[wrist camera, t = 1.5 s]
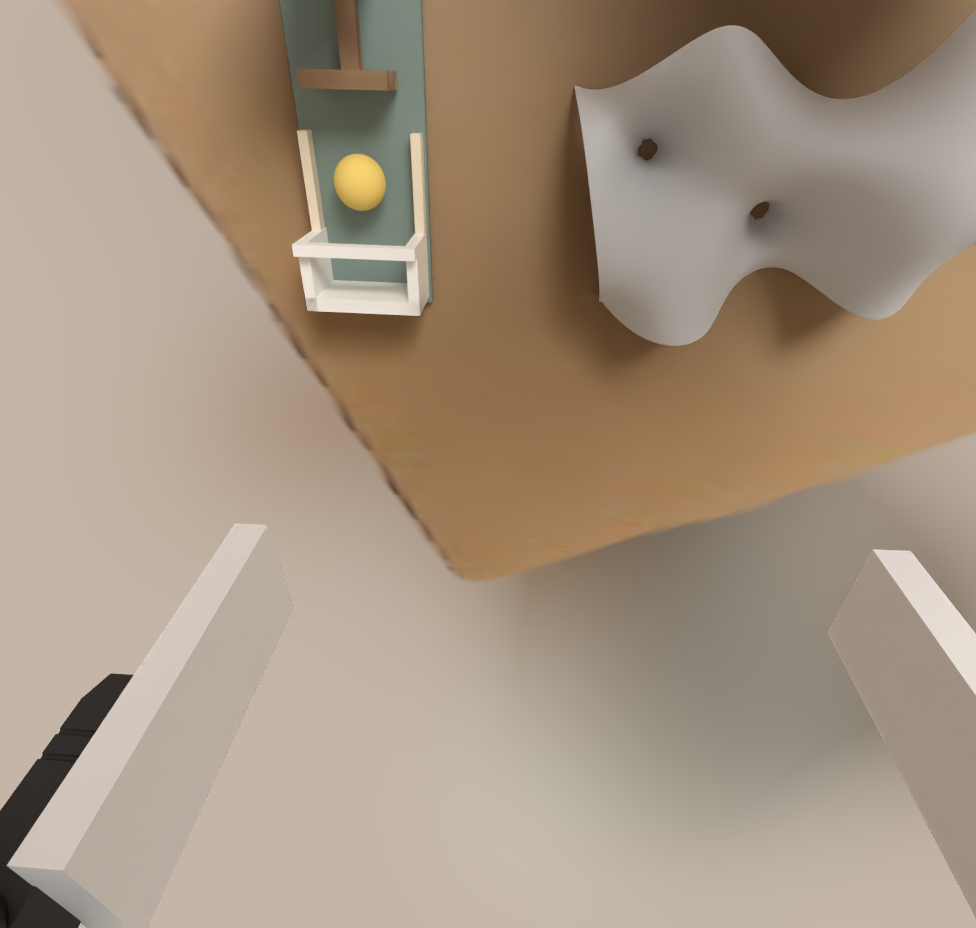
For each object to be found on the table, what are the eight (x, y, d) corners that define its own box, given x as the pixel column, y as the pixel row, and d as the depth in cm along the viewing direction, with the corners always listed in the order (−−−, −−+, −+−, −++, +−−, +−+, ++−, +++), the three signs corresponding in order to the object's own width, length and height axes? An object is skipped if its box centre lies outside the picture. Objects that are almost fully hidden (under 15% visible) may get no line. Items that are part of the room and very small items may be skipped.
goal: (316, 227, 43) (291, 244, 38) (426, 231, 42) (414, 249, 38) (325, 291, 46) (304, 314, 41) (429, 296, 45) (418, 319, 41)
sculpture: (599, 333, 47) (612, 385, 39) (571, 65, 37) (582, 62, 29) (925, 277, 43) (1014, 323, 35) (999, -45, 32) (1151, -84, 24)
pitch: (255, -185, 31) (242, -197, 30) (415, -184, 30) (410, -196, 29) (326, 295, 46) (320, 301, 45) (432, 300, 46) (429, 306, 45)
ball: (338, 150, 40) (323, 156, 37) (388, 151, 39) (376, 157, 36) (345, 204, 42) (331, 214, 39) (392, 206, 41) (381, 216, 39)
